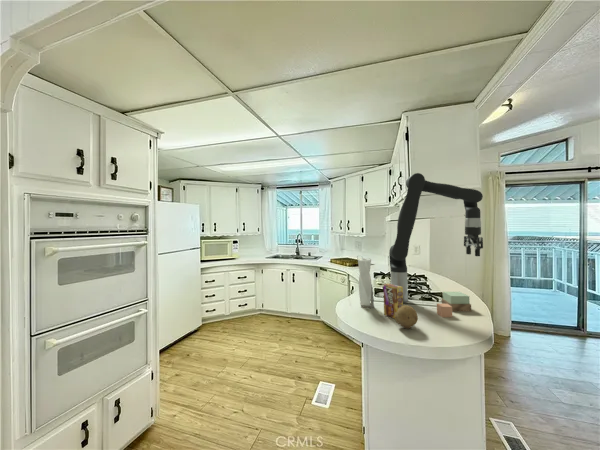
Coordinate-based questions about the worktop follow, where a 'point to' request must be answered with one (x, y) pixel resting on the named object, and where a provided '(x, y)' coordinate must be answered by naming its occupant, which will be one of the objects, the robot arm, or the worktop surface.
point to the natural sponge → (406, 316)
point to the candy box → (392, 299)
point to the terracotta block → (444, 310)
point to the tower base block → (458, 306)
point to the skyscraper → (365, 283)
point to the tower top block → (456, 297)
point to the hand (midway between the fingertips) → (472, 255)
